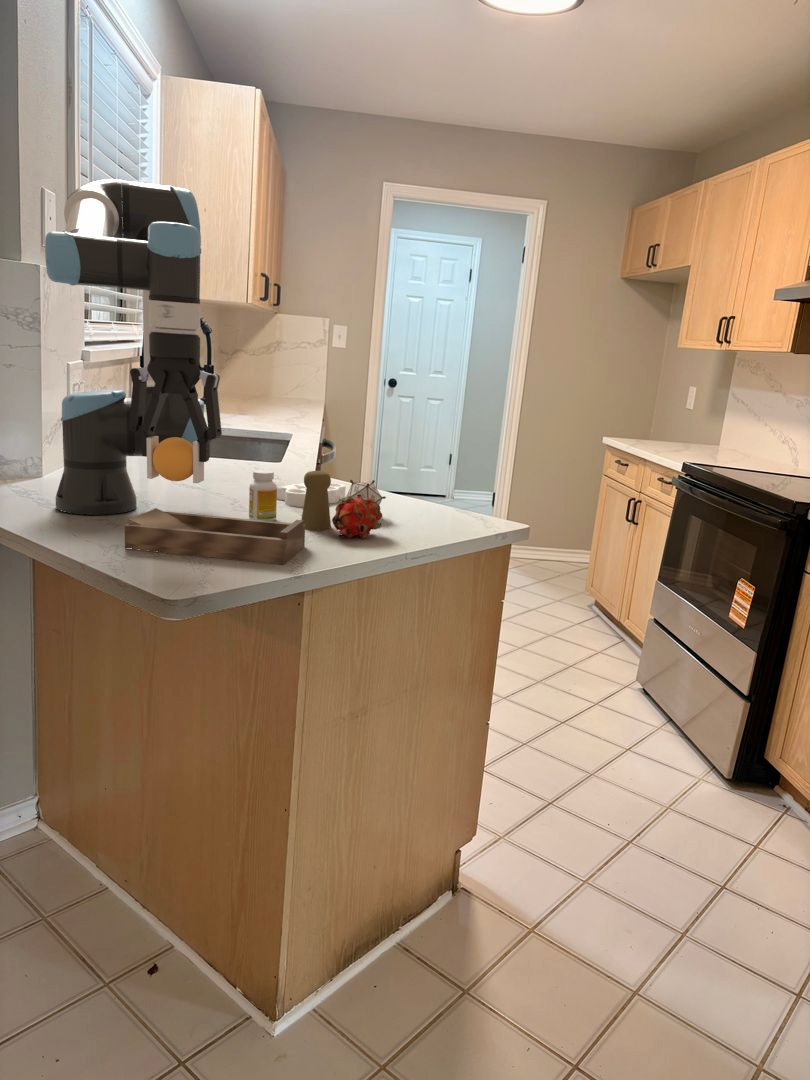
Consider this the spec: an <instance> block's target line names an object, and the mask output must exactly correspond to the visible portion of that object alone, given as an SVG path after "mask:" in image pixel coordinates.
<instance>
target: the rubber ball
mask: <svg viewBox="0 0 810 1080" xmlns="http://www.w3.org/2000/svg"><path fill="white" fill-rule="evenodd" d="M153 464H154V467H155V469H156V471H157V472H158V473H159V476H161V478H164V479H166V480H168V481H172V482H181V481H184V480H187V479H189V478H190V477H193V445H192V444H191V443H190V442H189V441H187V440H185V439H183V438H179V437H171V438H167V439H165V440H163V441H162V442H160V443H159V444H158V445H157V447H156V448H155V450H154V453H153Z"/></svg>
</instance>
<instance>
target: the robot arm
mask: <svg viewBox="0 0 810 1080" xmlns="http://www.w3.org/2000/svg"><path fill="white" fill-rule="evenodd" d="M64 204H65V205H64V210H63V215H64V220H65V223H66V227H65V230H64V231H48V233H47V234H46V235H45V240H44V253H45V257H44V258H45V266H46V267H45V268H46V274H47V277H48V278H49V279H50V281H52V282H55V283H61V284H65V285H66V284H68V285H70V286H84V287H85V286H86V287H88V286H89V287H102V288H111V289H112V288H114V289H125V290H126V289H127V290H137V291H138V290H139V291H142V325H143V326H142V327H143V328H142V331H143V334H142V335H143V367H133V368H131V369H130V371H129V374H130V377H131V382H132V388H131V389H132V391H131V397H127V394H126V393H125V390H124V389H103V390H102V389H101V390H100V389H99V390H92V391H81V392H80V391H79V392H74V393H70V394H67V395H65V396H64V397H63V398H62V402H61V417H60V421H61V422H62V424H61V425H62V450H63V451H62V452H63V471H62V472H63V473H62V474H61V478H60V482H59V483H58V484H59V485H58V487H57V488H58V489H57V491H56V495H55V509H56V508H57V509H59V510H62V511H66V512H70V513H69V514H72V513H75V514H74V515H83V514H86V516H90V515H92V516H93V515H96V516H99V515H114V514H115V515H116V514H122V513H127V512H131V511H133V510H135V509H137V508H138V507H137V495H136V493H135V489H134V487H133V484H132V482H131V478H130V476H129V473H128V469H127V466H128V465H127V457H146V478H147V479H148V480H151V479H155V478H157V477H159V476H160V474H159V473H158V472H157V471H156V469H155V467H154V464H153V453H154V450H155V448H156V447H157V445H158V444H159V443H160V442H162V441H163V440H165V439H167V438H171V437H179V438H183V439H185V440H187V441H189V442H190V443H191V444H192V445H193V475H192V483H193V484H199V483H201V482H203V481H205V463H206V462H209V460H210V457H211V455H210V454H211V453H210V451H211V450H210V448H211V445H210V443H211V440H214V439H215V440H216V439H217V438H220V437H221V436H222V435H223V433H222V423H221V413H220V404H219V393H218V389H219V383H220V378H221V376H220V375H219V374H218V373H213V374H212V373H209V372H206V371H204V370H203V368H202V365H201V337H200V335H199V334H197V332H199V331H200V330H201V299H200V298H201V295H200V293H201V292H200V291H201V254H202V244H201V243H202V235H201V223H200V222H201V221H200V214H199V210H198V209H199V208H198V204H197V200H196V197H195V196H194V194H193V192H192V191H190V190H189V189H187V188H184V187H183V188H181V187H176V186H173V185H165V184H164V185H162V184H156V183H145V182H140V181H139V182H138V181H132V180H131V181H129V180H123V179H117V178H107V179H100V180H96V181H95V180H94V181H91V182H88V183H85V184H84V185H82V186H80V187H78V188H76V189H74V191H72V192H71V193H70V194H69V195H68V197H67V199H66V202H65V203H64ZM200 380H201V383H202V386H203V387H204V390H203V391H204V401H203V400H202V399H200V398H199V394H198V393H199V392H198V391H197V387H196V386H197V384H198V382H199V381H200ZM205 410H206V411H205ZM205 412H206V419H205ZM57 509H56V510H57ZM59 510H58V511H59ZM62 511H61V512H62ZM66 512H65V513H66Z"/></svg>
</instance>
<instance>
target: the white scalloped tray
mask: <svg viewBox="0 0 810 1080" xmlns="http://www.w3.org/2000/svg"><path fill="white" fill-rule="evenodd" d="M306 489H307V488H306V486H305V484H304V482H303V483H297V484H296V483H293V484H289V485H285V486H277V501H278V500H280V501H284V504H285V505H286V506H289V507H299V508H300V507H301V508H302V507H304V501H305V495H306ZM346 490H347V489H346V485H345V484H341V483H334V482H331V484H330V486H329V488H328V499H329V504H336V503H338V502H340V500H343V499H342V498H346ZM339 499H340V500H339Z"/></svg>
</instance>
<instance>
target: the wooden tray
mask: <svg viewBox="0 0 810 1080" xmlns="http://www.w3.org/2000/svg"><path fill="white" fill-rule="evenodd" d="M305 538H306V529H305V524H304V520H301V519H295V520H294V521H293V522H282V521H262V520H251V519H249V518H239V517H238V518H237V517H227V516H219V515H207V514H196V513H194V514H193V513H185V512H184V513H183V512H174V511H173V512H172V511H164V510H161V509H158V508H154V509H151V510H149V511H146V512H143V513H141V514H138V515H137V516H133V517H132V518H129V520H128V522H127V524H124V548H132V549H140V550H139V551H141V550H149V551H148V552H151V551H158V552H157V553H161V552H166V553H165V554H171V553H174V554H173V555H181V554H186V555H185V556H191V555H199V556H198V557H201V556H208V557H207V558H211V557H215V558H214V559H222V558H227V559H226V560H232V559H237V560H236V561H242V560H245V562H252V561H255V562H256V563H262V562H266V563H265V564H272V563H274V565H282V566H283V565H286V564H287V563H288V562H289V561H290V560H291V559H293V558H294V557H295V556H296V555H297V554H298V553H299V552H300V551H302V549H304V548H305V541H306V539H305Z"/></svg>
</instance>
